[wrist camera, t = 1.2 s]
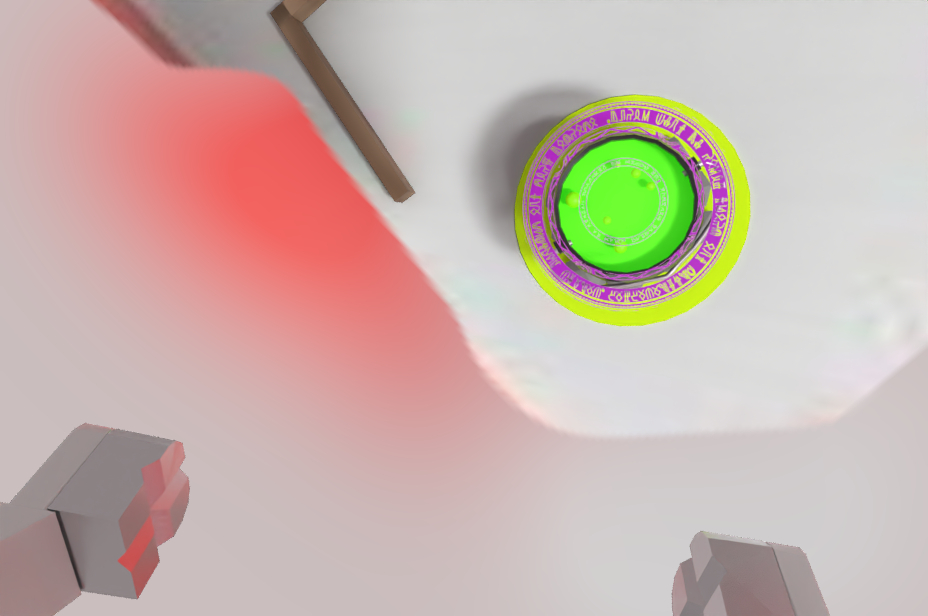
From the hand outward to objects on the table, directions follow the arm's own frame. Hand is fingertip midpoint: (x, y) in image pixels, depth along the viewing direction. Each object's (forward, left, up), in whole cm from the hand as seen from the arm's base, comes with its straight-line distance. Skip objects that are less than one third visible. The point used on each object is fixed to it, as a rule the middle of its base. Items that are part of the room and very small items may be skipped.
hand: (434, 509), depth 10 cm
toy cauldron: (-5, -4, -36) cm, 36 cm away
